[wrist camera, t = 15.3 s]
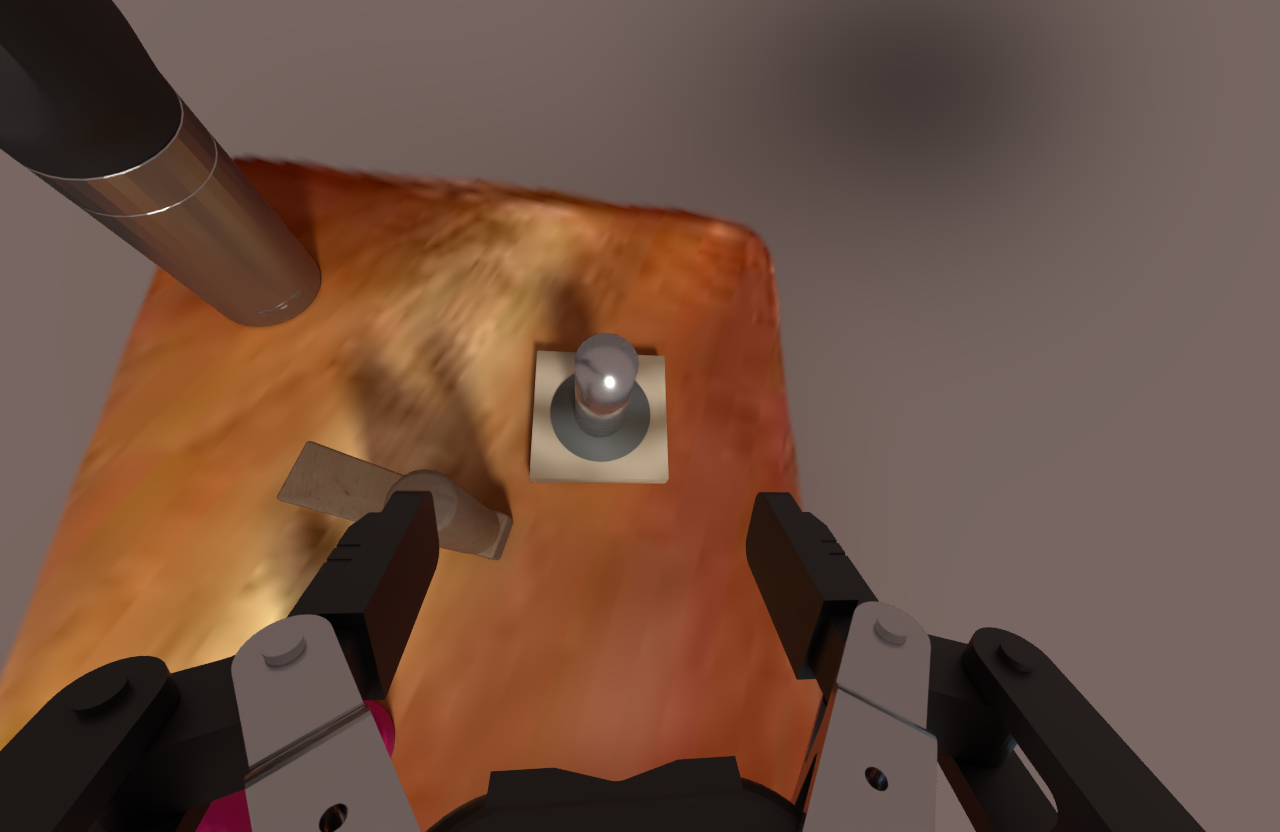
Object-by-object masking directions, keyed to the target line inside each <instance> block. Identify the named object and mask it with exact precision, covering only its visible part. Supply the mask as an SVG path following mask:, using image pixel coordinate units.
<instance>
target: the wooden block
mask: <svg viewBox="0 0 1280 832" xmlns="http://www.w3.org/2000/svg"><path fill="white" fill-rule="evenodd" d="M395 491H430V492H431V493H432V495H433V500H434V507H435V515H436V522H437V529H438V537H439V547H440V548H444V549H449V550H453V551H458V552H462V553H467V554H474V555H477V556H481V557H484V558H488V559H492V560H499V559H500V558H501V555H502V552H503V550H504V547H505V544H506V541H507V538H508V536H509V533H510V530H511V527H512V525H513V519H511V518H510V517H509V516H508V515H507V514H505V513H502V512H498V511H495V510H491V509H488V508H486V507H485V506H484V505H483V504H481V503H480V502H479V501H478V500H476V499H475V498H474V497H472V496H471V495H470V494H469V493H467V492H466V491H465V490H464V489H462V488H461V487H460V486H458V485H457V484H456V483H455V482H453V481H452V480H451V479H449V478H448V477H447V476H446V475H444V474H441V473H439V472H437V471H433V470H425V469H424V470H418V471H413V472H411V473H409V474H406V475H401V474H399V473H396V472H393V471H391V470H388V469H385V468H382V467H380V466H377V465H374V464H372V463H369V462H366V461H363V460H361V459H358V458H355V457H353V456H350V455H347V454H345V453H342V452H339V451H336V450H334V449H331V448H328V447H326V446H323V445H320V444H317V443H315V442H311V441H308V442H307V443H306V444H305V446H304V448H303V450H302V451H301V453H300V455H299V457H298V459H297V461H296V462H295V464H294V466H293V468H292V470H291V472H290V473H289V475H288V477H287V479H286V481H285V483H284V484H283V486H282V488H281V490H280V492H279V494H278V495H277V499H278V500H280V501H283V502H287V503H291V504H294V505H298V506H301V507H305V508H309V509H312V510H316V511H319V512H323V513H327V514H330V515H334V516H337V517H341V518H345V519H348V520H352V521H358V520H359V519H360V518H362V517H363V516H365V515H366V514H367V513H369V512H381V511H382V510H383V508H384V507H385V505H386V503H387V502H388V500H389V499H390V497H391V495H392V494H393V493H394V492H395Z"/></svg>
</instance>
